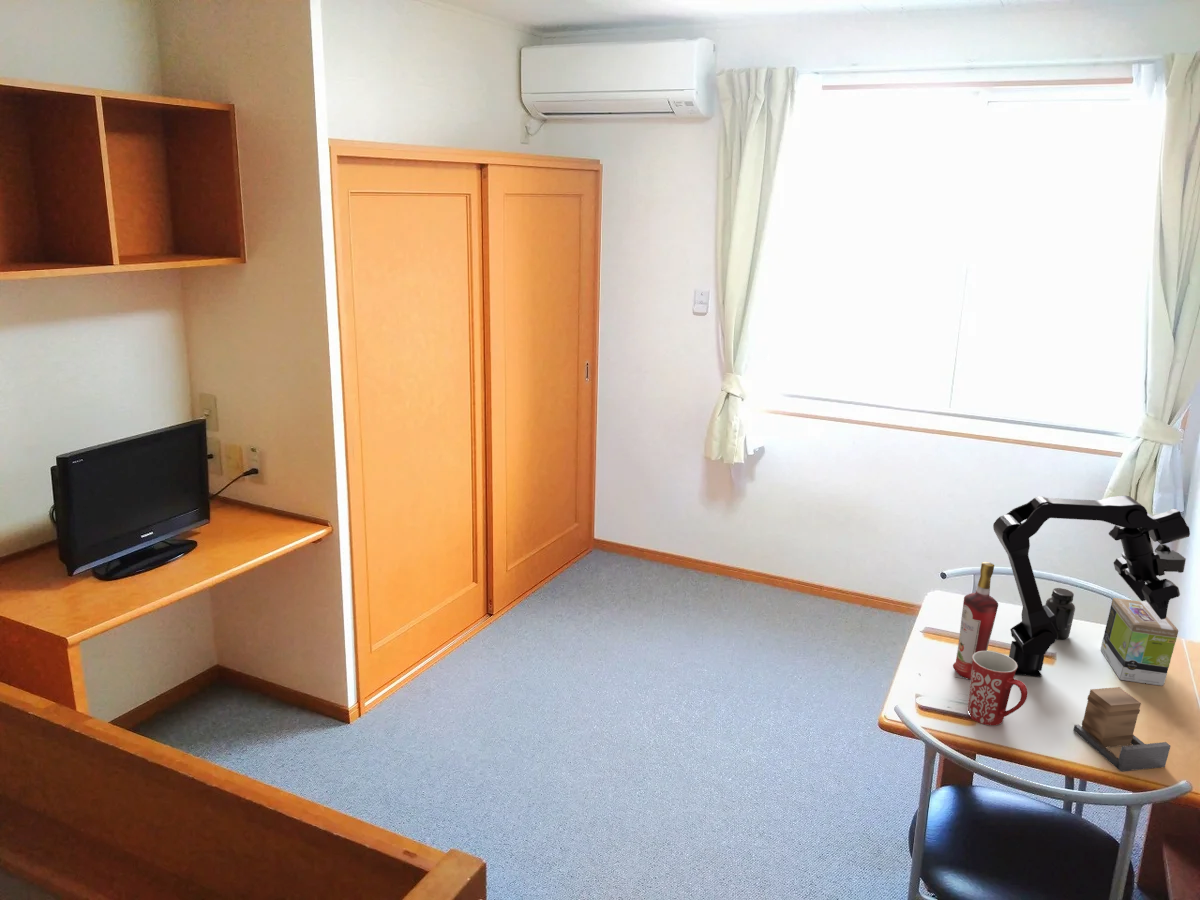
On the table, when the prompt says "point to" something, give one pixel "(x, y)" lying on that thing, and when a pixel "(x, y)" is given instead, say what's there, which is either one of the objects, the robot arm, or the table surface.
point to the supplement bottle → (1062, 610)
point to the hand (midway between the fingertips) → (1153, 609)
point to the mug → (992, 687)
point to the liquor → (976, 622)
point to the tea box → (1138, 642)
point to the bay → (1130, 752)
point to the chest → (1111, 716)
